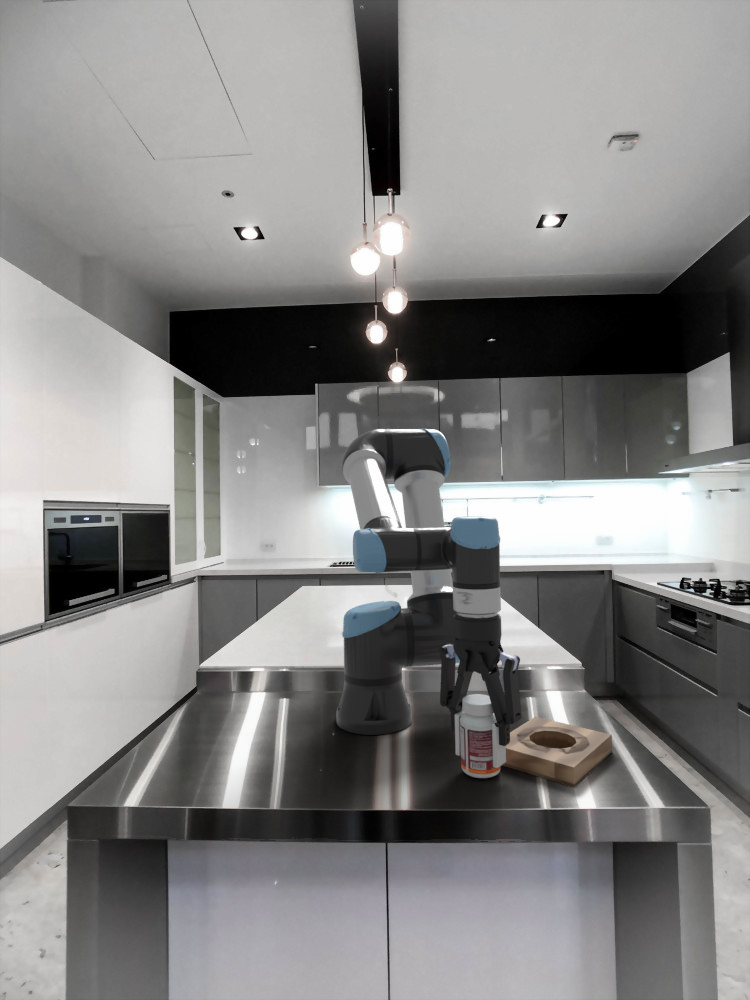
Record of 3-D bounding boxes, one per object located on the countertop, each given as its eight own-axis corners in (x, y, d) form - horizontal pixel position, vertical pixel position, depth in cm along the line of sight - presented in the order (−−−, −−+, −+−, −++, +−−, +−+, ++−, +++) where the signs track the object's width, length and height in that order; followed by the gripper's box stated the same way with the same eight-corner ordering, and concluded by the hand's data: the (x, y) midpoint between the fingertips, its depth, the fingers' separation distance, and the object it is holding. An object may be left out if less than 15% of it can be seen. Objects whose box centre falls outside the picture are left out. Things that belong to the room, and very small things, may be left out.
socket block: (492, 762, 96) (491, 744, 96) (535, 732, 108) (535, 716, 108) (574, 787, 86) (573, 767, 86) (612, 752, 98) (611, 734, 98)
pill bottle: (508, 772, 91) (507, 700, 91) (480, 783, 87) (478, 708, 87) (481, 758, 96) (479, 690, 96) (453, 768, 93) (451, 697, 93)
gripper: (414, 610, 95) (418, 750, 95) (520, 624, 83) (524, 785, 82) (441, 603, 101) (444, 735, 101) (543, 616, 88) (547, 767, 88)
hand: (480, 757), depth 92 cm, fingers closed on pill bottle, 6 cm apart
